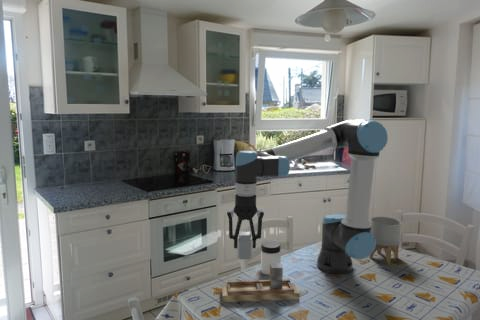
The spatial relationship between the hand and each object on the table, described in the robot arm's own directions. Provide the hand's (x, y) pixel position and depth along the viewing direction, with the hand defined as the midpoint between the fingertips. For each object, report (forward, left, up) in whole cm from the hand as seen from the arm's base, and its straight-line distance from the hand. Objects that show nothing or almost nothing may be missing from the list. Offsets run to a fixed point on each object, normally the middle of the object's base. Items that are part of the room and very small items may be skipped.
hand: (244, 256), depth 134 cm
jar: (-13, -20, -16) cm, 28 cm away
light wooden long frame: (-6, 0, -15) cm, 16 cm away
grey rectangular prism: (0, 0, 0) cm, 0 cm away
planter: (-68, -31, -16) cm, 76 cm away
